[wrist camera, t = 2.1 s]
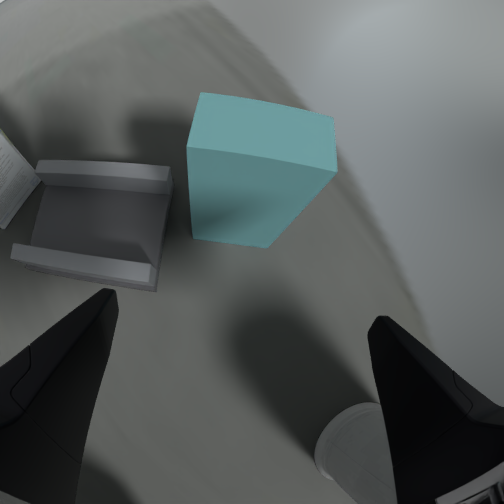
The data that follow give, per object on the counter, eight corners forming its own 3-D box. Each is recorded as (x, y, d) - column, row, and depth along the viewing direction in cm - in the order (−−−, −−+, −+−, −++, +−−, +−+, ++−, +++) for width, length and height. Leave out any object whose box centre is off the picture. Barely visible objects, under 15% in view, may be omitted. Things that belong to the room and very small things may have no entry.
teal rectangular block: (269, 213, 24) (333, 117, 12) (267, 248, 23) (337, 172, 11) (198, 204, 23) (200, 92, 11) (192, 238, 23) (186, 146, 10)
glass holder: (362, 384, 22) (500, 421, 8) (427, 447, 22) (526, 481, 7) (294, 456, 20) (387, 560, 5) (375, 505, 19) (458, 566, 5)
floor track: (174, 184, 23) (170, 163, 20) (156, 292, 21) (147, 286, 18) (56, 176, 22) (39, 156, 18) (32, 270, 19) (9, 262, 16)
